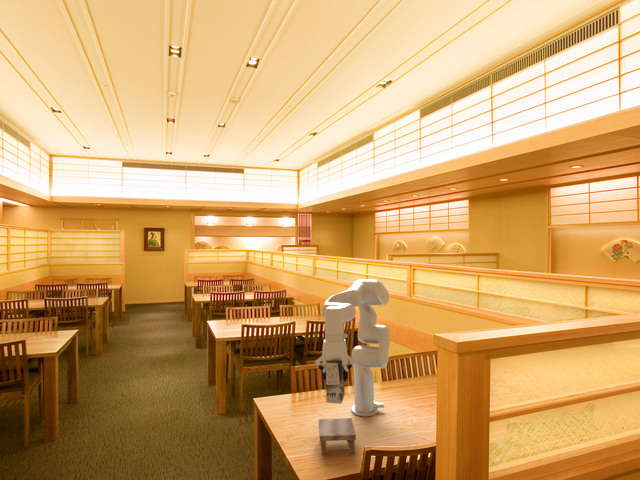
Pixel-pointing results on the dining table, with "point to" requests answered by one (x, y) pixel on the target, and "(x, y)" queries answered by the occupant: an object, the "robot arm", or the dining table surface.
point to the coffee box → (335, 382)
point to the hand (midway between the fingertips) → (335, 380)
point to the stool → (336, 432)
